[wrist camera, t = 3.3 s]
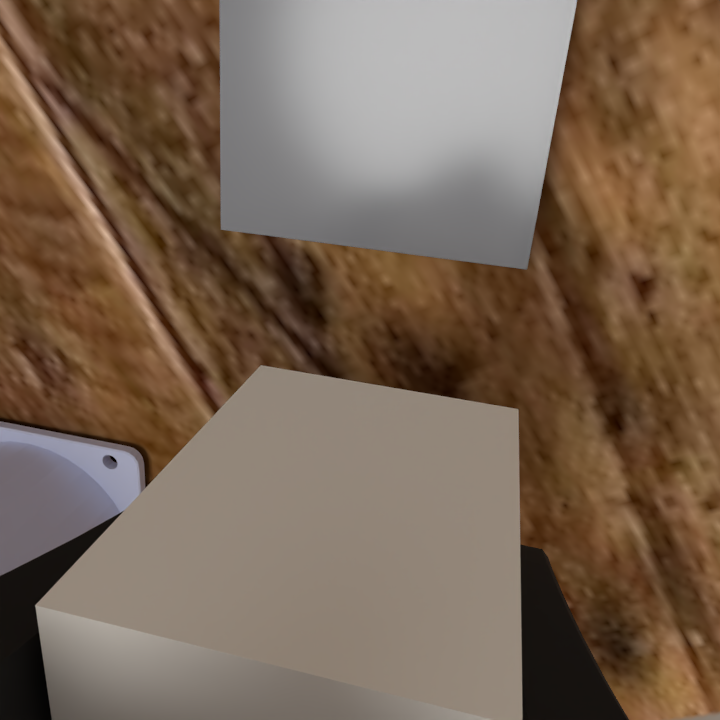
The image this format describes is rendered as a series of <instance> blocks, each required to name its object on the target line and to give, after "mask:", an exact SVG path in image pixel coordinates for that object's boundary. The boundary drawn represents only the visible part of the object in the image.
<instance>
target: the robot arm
mask: <svg viewBox="0 0 720 720" xmlns="http://www.w3.org/2000/svg"><path fill="white" fill-rule="evenodd" d="M110 456H112V457H114V458H115V459H116V461H117V463H116V462H114V461H113V460H112V459H111V458H110ZM144 489H145V471H144V461H143V457H142V456H141V454H140V453H139V452H138V451H137V450H136V449H135V448H132V447H129V446H125V445H120V444H114V443H109V442H104V441H99V440H94V439H89V438H84V437H78V436H73V435H68V434H63V433H58V432H53V431H48V430H43V429H37V428H32V427H27V426H22V425H17V424H12V423H7V422H1V421H0V720H52V717H51V711H50V704H49V697H48V690H47V683H46V676H45V669H44V662H43V656H42V649H41V642H40V635H39V628H38V621H37V614H36V607H35V605H36V604H37V603H38V602H39V601H40V600H41V599H42V598H43V597H44V595H45V594H46V593H47V592H48V591H49V590H50V589H51V588H52V587H53V586H54V585H55V584H56V583H57V582H58V581H59V580H60V578H61V577H62V576H63V575H64V574H65V573H66V572H67V571H68V570H69V569H70V568H71V567H72V566H73V565H74V564H75V562H76V561H77V560H78V559H79V558H80V557H81V556H82V555H83V554H84V553H85V552H86V551H87V550H88V549H89V548H90V547H91V545H92V544H93V543H94V542H95V541H96V540H97V539H98V538H99V537H100V536H101V535H102V534H103V533H104V532H105V531H106V530H107V528H108V527H109V526H110V525H111V524H112V523H113V522H114V521H115V520H116V519H117V518H118V517H119V516H120V515H121V514H122V512H123V511H124V510H125V509H126V508H127V507H128V506H129V505H130V504H131V503H132V502H133V501H134V500H135V499H136V498H137V497H138V495H139V494H140V493H141V492H142V491H143V490H144ZM520 562H521V638H522V714H523V720H629V719H628V717H627V716H626V714H625V712H624V711H623V709H622V707H621V706H620V704H619V702H618V701H617V699H616V697H615V696H614V694H613V692H612V690H611V688H610V687H609V685H608V683H607V681H606V680H605V678H604V676H603V674H602V672H601V670H600V668H599V667H598V665H597V663H596V661H595V659H594V657H593V655H592V653H591V651H590V649H589V648H588V646H587V644H586V642H585V640H584V638H583V636H582V634H581V632H580V630H579V628H578V626H577V624H576V622H575V620H574V618H573V615H572V613H571V611H570V609H569V607H568V605H567V603H566V600H565V598H564V596H563V594H562V591H561V589H560V587H559V584H558V582H557V580H556V577H555V575H554V572H553V570H552V567H551V565H550V562H549V559H548V557H547V556H546V554H545V553H544V551H543V550H542V549H538V548H533V547H528V546H524V545H520Z"/></svg>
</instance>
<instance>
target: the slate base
mask: <svg viewBox="0 0 720 720" xmlns="http://www.w3.org/2000/svg"><path fill="white" fill-rule="evenodd" d="M576 4H577V0H220V161H221V230H229V231H237V232H244V233H252V234H259V235H267V236H275V237H282V238H290V239H298V240H305V241H313V242H320V243H328V244H336V245H343V246H351V247H359V248H366V249H374V250H382V251H389V252H397V253H404V254H412V255H420V256H427V257H435V258H443V259H450V260H458V261H466V262H473V263H481V264H488V265H496V266H504V267H511V268H519V269H527V267H528V261H529V256H530V251H531V245H532V240H533V235H534V229H535V224H536V219H537V213H538V208H539V202H540V197H541V192H542V186H543V181H544V176H545V170H546V165H547V160H548V154H549V149H550V143H551V138H552V133H553V127H554V122H555V117H556V111H557V106H558V101H559V95H560V90H561V84H562V79H563V74H564V68H565V63H566V58H567V52H568V47H569V42H570V36H571V31H572V25H573V20H574V15H575V9H576Z"/></svg>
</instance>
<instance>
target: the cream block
mask: <svg viewBox="0 0 720 720" xmlns="http://www.w3.org/2000/svg"><path fill="white" fill-rule="evenodd" d="M35 607H36V614H37V621H38V628H39V635H40V642H41V649H42V656H43V662H44V669H45V676H46V683H47V690H48V697H49V704H50V711H51V717H52V720H523V714H522V638H521V562H520V487H519V411H518V409H515V408H509V407H503V406H497V405H492V404H486V403H480V402H474V401H468V400H462V399H456V398H450V397H445V396H439V395H433V394H427V393H421V392H415V391H409V390H403V389H398V388H392V387H386V386H380V385H374V384H368V383H362V382H356V381H351V380H345V379H339V378H333V377H327V376H321V375H315V374H309V373H304V372H298V371H292V370H286V369H280V368H274V367H268V366H262V365H261V366H260V367H259V368H258V369H257V370H256V371H255V372H254V373H253V374H252V375H251V376H250V377H249V378H248V379H247V381H246V382H245V383H244V384H243V385H242V386H241V387H240V388H239V389H238V390H237V391H236V392H235V393H234V394H233V395H232V397H231V398H230V399H229V400H228V401H227V402H226V403H225V404H224V405H223V406H222V407H221V408H220V409H219V410H218V411H217V412H216V414H215V415H214V416H213V417H212V418H211V419H210V420H209V421H208V422H207V423H206V424H205V425H204V426H203V427H202V428H201V430H200V431H199V432H198V433H197V434H196V435H195V436H194V437H193V438H192V439H191V440H190V441H189V442H188V443H187V444H186V445H185V447H184V448H183V449H182V450H181V451H180V452H179V453H178V454H177V455H176V456H175V457H174V458H173V459H172V460H171V461H170V462H169V464H168V465H167V466H166V467H165V468H164V469H163V470H162V471H161V472H160V473H159V474H158V475H157V476H156V477H155V478H154V480H153V481H152V482H151V483H150V484H149V485H148V486H147V487H146V488H145V489H144V490H143V491H142V492H141V493H140V494H139V495H138V497H137V498H136V499H135V500H134V501H133V502H132V503H131V504H130V505H129V506H128V507H127V508H126V509H125V510H124V511H123V512H122V514H121V515H120V516H119V517H118V518H117V519H116V520H115V521H114V522H113V523H112V524H111V525H110V526H109V527H108V528H107V530H106V531H105V532H104V533H103V534H102V535H101V536H100V537H99V538H98V539H97V540H96V541H95V542H94V543H93V544H92V545H91V547H90V548H89V549H88V550H87V551H86V552H85V553H84V554H83V555H82V556H81V557H80V558H79V559H78V560H77V561H76V562H75V564H74V565H73V566H72V567H71V568H70V569H69V570H68V571H67V572H66V573H65V574H64V575H63V576H62V577H61V578H60V580H59V581H58V582H57V583H56V584H55V585H54V586H53V587H52V588H51V589H50V590H49V591H48V592H47V593H46V594H45V595H44V597H43V598H42V599H41V600H40V601H39V602H38V603H37V604H36V605H35Z"/></svg>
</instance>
